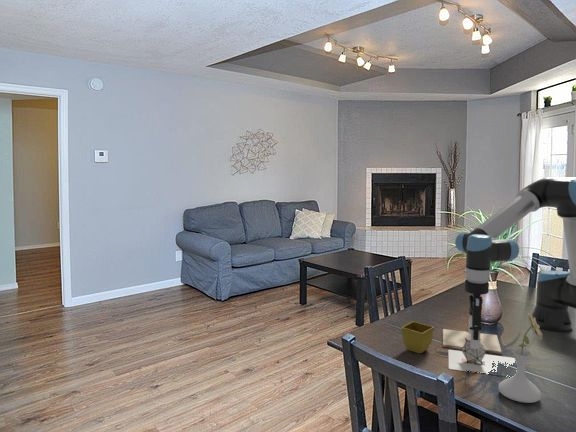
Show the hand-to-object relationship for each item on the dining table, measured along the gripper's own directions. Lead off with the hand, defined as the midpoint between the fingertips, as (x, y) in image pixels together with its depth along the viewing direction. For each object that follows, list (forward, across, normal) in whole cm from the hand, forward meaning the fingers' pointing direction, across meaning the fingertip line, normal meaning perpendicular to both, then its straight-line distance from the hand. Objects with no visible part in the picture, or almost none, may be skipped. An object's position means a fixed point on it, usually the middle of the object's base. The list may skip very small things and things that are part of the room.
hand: (473, 340), depth 152 cm
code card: (+8, 0, +3) cm, 8 cm away
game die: (+8, 0, 0) cm, 8 cm away
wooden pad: (+8, -18, 0) cm, 20 cm away
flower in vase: (+8, +19, +12) cm, 24 cm away
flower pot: (+8, -4, -19) cm, 21 cm away
